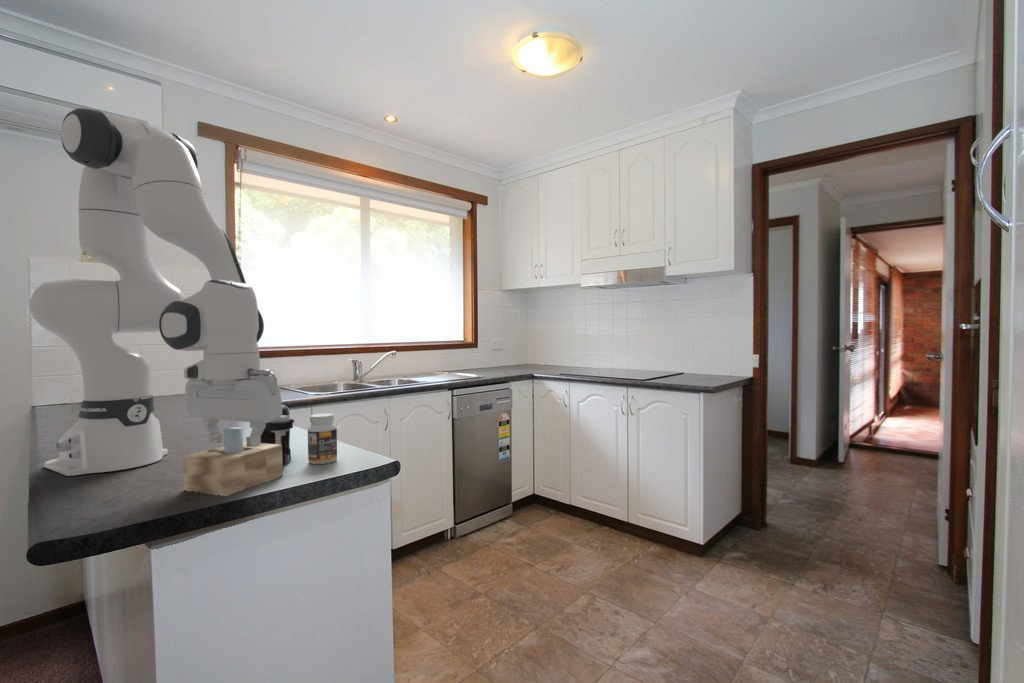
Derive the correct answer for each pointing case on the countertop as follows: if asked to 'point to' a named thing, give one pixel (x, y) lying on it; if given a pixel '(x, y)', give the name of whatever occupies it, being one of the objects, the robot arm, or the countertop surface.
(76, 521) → the countertop surface
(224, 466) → the socket block
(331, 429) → the pill bottle
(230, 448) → the peg
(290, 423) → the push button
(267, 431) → the coffee maker
